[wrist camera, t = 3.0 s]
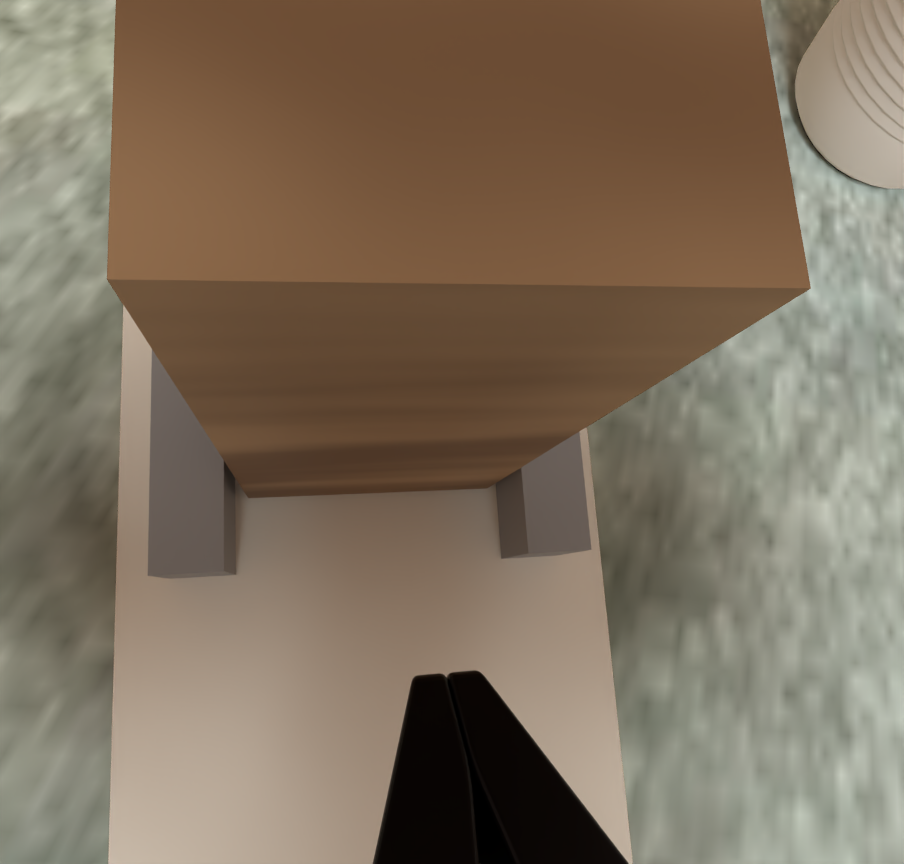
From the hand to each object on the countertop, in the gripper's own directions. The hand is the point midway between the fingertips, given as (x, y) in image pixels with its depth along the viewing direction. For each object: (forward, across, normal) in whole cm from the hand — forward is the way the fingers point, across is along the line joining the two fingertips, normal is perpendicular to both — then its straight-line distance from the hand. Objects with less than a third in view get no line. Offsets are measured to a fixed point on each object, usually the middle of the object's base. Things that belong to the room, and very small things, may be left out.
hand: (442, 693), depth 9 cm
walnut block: (+11, 0, +3) cm, 11 cm away
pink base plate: (+11, 0, +4) cm, 12 cm away
